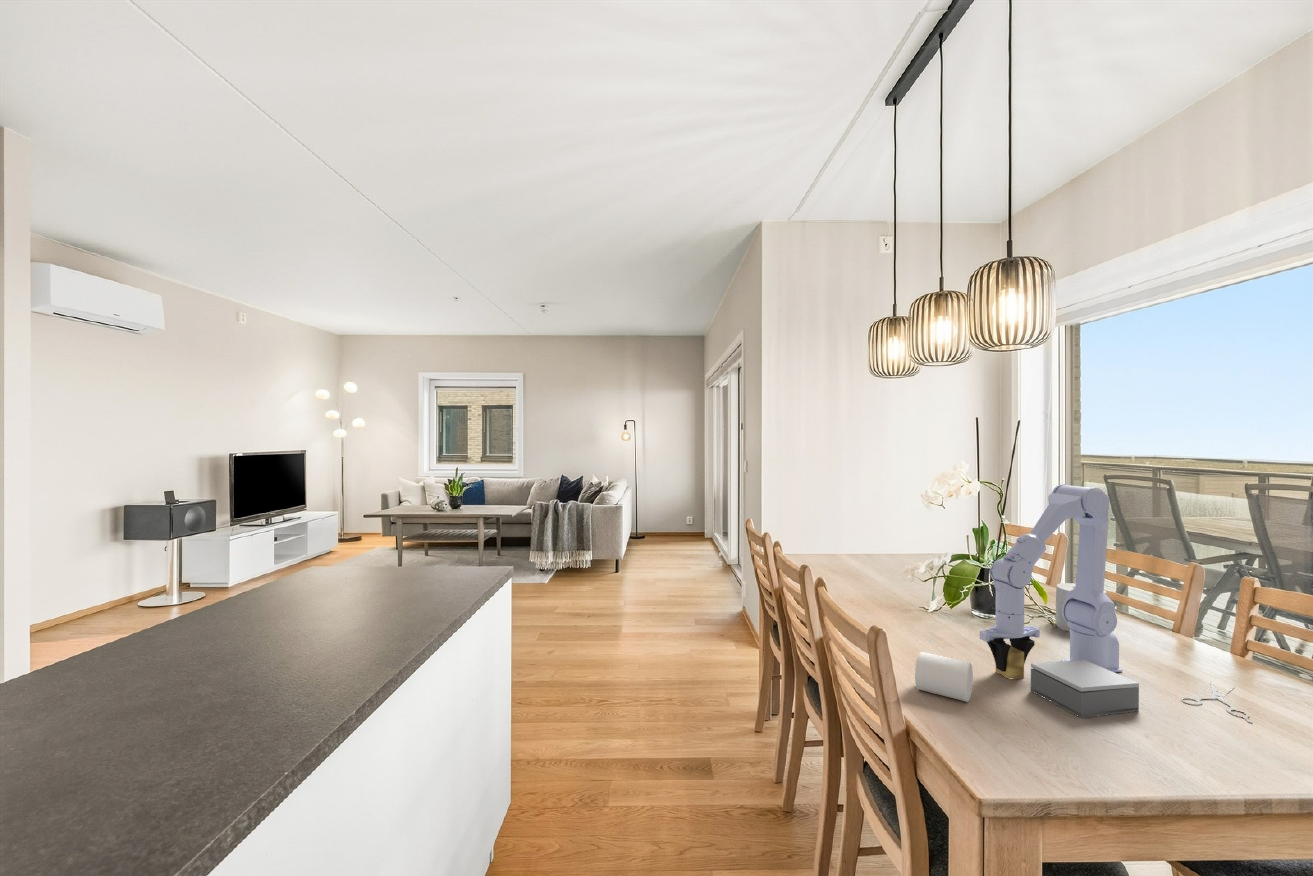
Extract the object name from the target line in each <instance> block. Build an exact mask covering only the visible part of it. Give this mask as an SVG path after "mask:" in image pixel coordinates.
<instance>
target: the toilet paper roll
mask: <svg viewBox="0 0 1313 876" xmlns="http://www.w3.org/2000/svg"><path fill="white" fill-rule="evenodd" d="M1075 587H1076V582H1075V583H1072V582H1062V583H1057V584H1056V588H1055V589H1056V590H1055V624H1056V627H1058V628H1059V629H1061V630H1063V631H1066V632H1069V633H1070V627H1069V626H1067V621H1066V620H1065V619H1064V618H1063V616H1062V606H1063V604H1064V602H1065V599H1066V593H1067V592H1069V591H1071V590H1073V589H1075ZM1104 593H1105V594H1106V595H1107V596H1108V594H1107V590H1105V589H1104Z"/></svg>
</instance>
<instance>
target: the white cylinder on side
mask: <svg viewBox="0 0 1313 876" xmlns="http://www.w3.org/2000/svg"><path fill="white" fill-rule="evenodd" d="M914 671H915V672H914V681H915V687H916V689H917V690H919V691H923V692H928V693H931V694H934V695H939V696H943V697H947V698H951V699H954V700H959V701H963V702H965V703H968V702H969V701H970V699H971V697H972V691H973V684H974V683H973V681H974V680H973V678H974V675H973V674H974V673H973V671H974V670H973V665H972V663H971V662H969V661H965V660H961V659H956V658H952V657H951V658H950V657H946V656H941V655H938V654H934V653H933V654H932V653H928V652H924V651H920V652H919V653H918V655H917V659H916V662H915V670H914Z"/></svg>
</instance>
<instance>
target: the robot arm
mask: <svg viewBox="0 0 1313 876" xmlns="http://www.w3.org/2000/svg"><path fill="white" fill-rule="evenodd" d="M1047 500H1048V504H1047V506H1046V508H1045V509H1044V510H1043V513H1042V514H1041V515H1040V517H1039V519H1038V520H1037V522H1036V523H1035V525H1034V527H1033V528H1032V530H1031V531H1030V532H1029V533H1023V534H1021V535H1020V536H1018V537H1017V538H1016V539H1015V540H1016V542H1014V544H1013V545H1012V547H1011V548H1010V549H1009V550H1008V552H1007V553H1005V555H1004V556H1003V558H1002V557H1000V558H999V559H997V560H995V561H994V562H993V563H992V565H991V568H990V569H989V575H990V577H991V579H992V580H993V587H994V588H995V624H993V626H992V627H989V628H987V629H983V630H979V640H981V641H983V642H985V643H986V644H987V646H988V647H989V648H990V651H991V653H992V657H993V659H994V663H995V664H994V665H995V668H996V667H997V669H999V670H1001V671H1003V672H1006V668H1007V656H1008V652H1009V649H1010V647H1011V646H1012V647H1014V648H1016V649H1018V650H1020V651H1022V652H1024V665H1025V664H1026V660H1027V658H1028V656H1029V654H1030V652H1031V650H1032V649H1033V648H1034V646H1035V645H1036V644H1035V640H1033V639H1031V638H1032V637H1034V638H1041V637H1040V633H1041V632H1040V628H1037V627H1035V626H1025V587H1026V586H1027V585H1029V583H1031V581H1032V574H1033V571H1034V567H1035V565H1036V563H1037V562H1038V561H1039V560H1040V559H1041V557H1042V556H1043V555H1044V553H1045V552H1047V545H1046V542H1047V541H1048V540H1049V538H1050V537H1051V536H1052V535H1053V534H1054V533H1055V532H1056V531H1057V530H1058V528H1059V527H1060V526H1061V525H1063V523H1064V522H1065V521H1066V520H1068V519H1074V521H1076V522H1077V523H1078V524H1079V532H1078V543H1077V544H1078V547H1077V562H1076V574H1075V575H1076V577H1075V583H1076V587H1075V589H1073V590H1071V591H1069V592H1067V593H1066V599H1065V602H1064V604H1063V606H1062V616H1063V618H1064V619H1065V620H1066V621H1067V626H1069V627H1070V632H1069V658H1064V659H1063V658H1062V659H1060V661H1074V660H1086V661H1088V662H1091V663H1093V664H1095V665H1098V666H1100V667H1102V668H1105V669H1107V670H1109V671H1112V672H1114V673H1118V672H1119V673H1120V672H1123V668H1120V643H1119V640H1118V638H1117V636H1116V635H1115V633H1113V632H1114V631H1115V629H1116V627H1117V624H1118V616H1117V614H1116V612H1115V611H1116V610H1115V606H1116V605H1115V603H1114V601H1112V599H1110V597H1109V596H1108V594H1107V595H1106V594H1105V593H1104V590H1105V575H1106V565H1107V563H1106V562H1107V550H1108V549H1107V548H1108V535H1109V534H1108V532H1109V520H1110V519H1109V510H1110V497H1109V495H1107V494H1106V492H1104V491H1103V490H1102V489H1101V488H1099V487H1087V486H1077V485H1069V484H1065V483H1063V484H1058V485H1056V486H1055V487H1054V488H1053V490H1052V491H1051V493H1049V495H1048V497H1047ZM1005 640H1009V643H1010V644H1009V643H1006V641H1005Z"/></svg>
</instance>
